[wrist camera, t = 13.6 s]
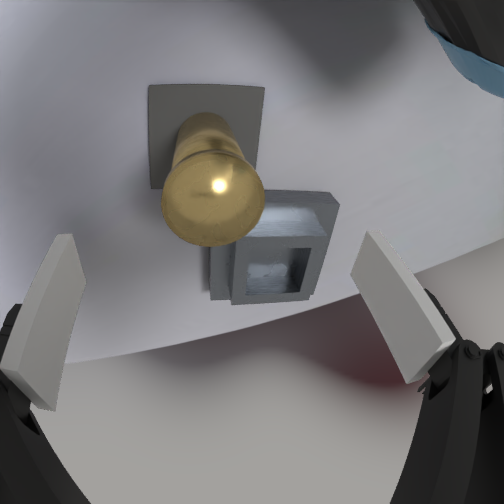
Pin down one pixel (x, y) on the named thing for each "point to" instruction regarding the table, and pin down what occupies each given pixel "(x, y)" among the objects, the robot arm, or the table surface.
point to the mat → (193, 102)
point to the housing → (276, 251)
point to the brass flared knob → (211, 185)
